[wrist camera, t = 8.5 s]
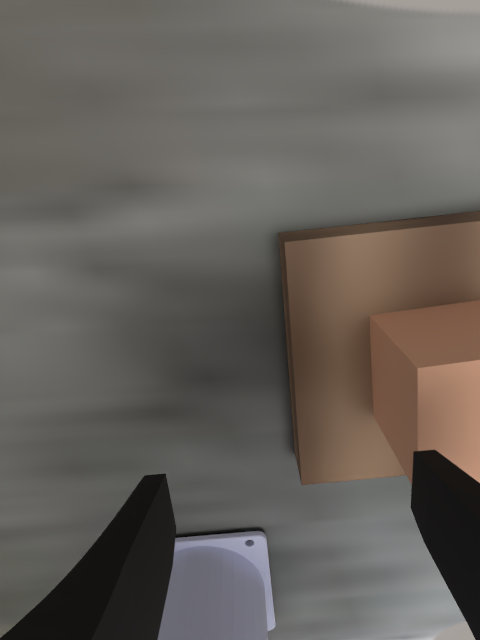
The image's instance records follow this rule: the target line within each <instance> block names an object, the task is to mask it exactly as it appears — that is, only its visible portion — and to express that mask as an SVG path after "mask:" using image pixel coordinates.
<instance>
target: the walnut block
mask: <svg viewBox="0 0 480 640" xmlns="http://www.w3.org/2000/svg"><path fill="white" fill-rule="evenodd" d="M279 246H280V260H281V273H282V287H283V300H284V313H285V327H286V340H287V353H288V367H289V380H290V393H291V407H292V420H293V433H294V447H295V456H296V460H297V465H298V470H299V474H300V479H301V484H302V485H307V484H318V483H328V482H339V481H350V480H360V479H371V478H381V477H392V476H402V475H406V473H405V471H404V470H403V468H402V466H401V464H400V463H399V461H398V459H397V457H396V455H395V454H394V452H393V450H392V448H391V446H390V445H389V443H388V441H387V439H386V437H385V436H384V434H383V432H382V430H381V429H380V427H379V425H378V423H377V421H376V420H375V418H374V412H373V388H372V365H371V341H370V318H369V315H376V314H383V313H390V312H398V311H405V310H412V309H419V308H426V307H434V306H441V305H448V304H455V303H462V302H469V301H477V300H480V211H477V212H467V213H458V214H449V215H440V216H431V217H421V218H412V219H403V220H394V221H385V222H376V223H366V224H357V225H348V226H339V227H330V228H320V229H311V230H302V231H293V232H284V233H279Z"/></svg>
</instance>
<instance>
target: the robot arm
mask: <svg viewBox="0 0 480 640" xmlns="http://www.w3.org/2000/svg"><path fill="white" fill-rule="evenodd" d="M411 509H412V512H413V515H414V517H415V520H416V522H417V525H418V528H419V530H420V533H421V535H422V538H423V540H424V542H425V544H426V546H427V548H428V550H429V552H430V554H431V556H432V558H433V560H434V562H435V564H436V565H437V567H438V569H439V571H440V573H441V575H442V577H443V579H444V580H445V582H446V584H447V586H448V588H449V590H450V592H451V594H452V595H453V597H454V599H455V601H456V603H457V605H458V607H459V608H460V610H461V612H462V614H463V616H464V618H465V620H466V621H467V623H468V625H469V627H470V629H471V631H472V633H473V635H474V637H475V639H476V640H480V483H479V482H478V481H476V480H475V479H474V478H472V477H471V476H470V475H468V474H467V473H466V472H464V471H463V470H462V469H460V468H459V467H458V466H456V465H455V464H454V463H452V462H451V461H450V460H448V459H447V458H446V457H444V456H443V455H442V454H440V453H439V452H438V451H436V450H425V451H413V472H412V494H411ZM175 536H176V525H175V519H174V514H173V509H172V504H171V499H170V494H169V489H168V484H167V479H166V474H157V475H145V476H144V477H143V478H142V480H141V481H140V482H139V484H138V485H137V487H136V488H135V490H134V491H133V492H132V494H131V495H130V497H129V498H128V500H127V501H126V502H125V504H124V505H123V507H122V508H121V509H120V511H119V512H118V513H117V515H116V516H115V517H114V519H113V520H112V521H111V523H110V524H109V525H108V527H107V528H106V529H105V531H104V532H103V533H102V535H101V536H100V537H99V538H98V540H97V541H96V542H95V543H94V544H93V546H92V547H91V548H90V549H89V550H88V552H87V553H86V554H85V555H84V556H83V558H82V559H81V560H80V561H79V562H78V563H77V565H76V566H75V567H74V568H73V569H72V570H71V571H70V572H69V573H68V575H67V576H66V577H65V578H64V579H63V580H62V581H61V582H60V583H59V584H58V585H57V586H56V587H55V588H54V589H53V590H52V591H51V592H50V593H49V594H48V595H47V596H46V597H45V598H44V599H43V600H42V601H41V602H40V603H39V604H38V605H37V606H36V607H35V608H34V609H32V610H31V611H30V612H29V613H28V614H27V615H26V616H25V617H24V618H23V619H22V620H20V621H19V622H18V623H17V624H16V625H15V626H14V627H13V628H12V629H11V630H9V631H8V632H7V633H6V634H5V635H3V636H2V637H1V638H0V640H268V631H270V630H272V629H274V627H275V616H274V606H273V596H272V587H271V577H270V568H269V558H268V548H267V539H266V535H265V534H264V533H263V532H261V531H251V532H239V533H227V534H216V535H204V536H192V537H181V538H175ZM247 540H252V541H247Z"/></svg>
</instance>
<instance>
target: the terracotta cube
mask: <svg viewBox="0 0 480 640" xmlns="http://www.w3.org/2000/svg"><path fill="white" fill-rule="evenodd" d="M369 318H370V341H371V365H372V388H373V412H374V418H375V420H376V421H377V423H378V425H379V427H380V429H381V430H382V432H383V434H384V436H385V437H386V439H387V441H388V443H389V445H390V446H391V448H392V450H393V452H394V454H395V455H396V457H397V459H398V461H399V463H400V464H401V466H402V468H403V470H404V471H405V473H406V475H407V477H408V479H409V480H410V482H411V484H412V472H413V451H425V450H436V451H438V452H439V453H440V454H442V455H443V456H444V457H446V458H447V459H448V460H450V461H451V462H452V463H454V464H455V465H456V466H458V467H459V468H460V469H462V470H463V471H464V472H466V473H467V474H468V475H470V476H471V477H472V478H474V479H475V480H476V481H478V482H479V483H480V300H477V301H469V302H462V303H455V304H448V305H441V306H434V307H426V308H419V309H412V310H405V311H398V312H390V313H383V314H376V315H369Z"/></svg>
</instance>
